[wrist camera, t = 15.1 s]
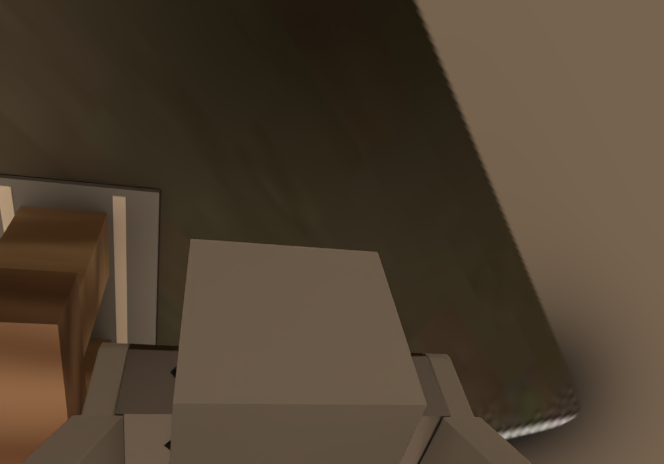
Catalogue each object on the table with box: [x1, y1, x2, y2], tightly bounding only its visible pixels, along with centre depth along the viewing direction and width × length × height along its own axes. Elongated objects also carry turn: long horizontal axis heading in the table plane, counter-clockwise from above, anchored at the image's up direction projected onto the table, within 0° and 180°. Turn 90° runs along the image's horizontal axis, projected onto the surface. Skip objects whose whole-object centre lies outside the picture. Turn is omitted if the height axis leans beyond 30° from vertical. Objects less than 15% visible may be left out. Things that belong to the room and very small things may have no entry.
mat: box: [0, 174, 160, 345], centre depth 31 cm, size 16×9×1 cm, turn 169°
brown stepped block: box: [0, 206, 112, 464], centre depth 27 cm, size 15×4×9 cm, turn 169°
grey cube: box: [170, 239, 427, 464], centre depth 11 cm, size 4×4×4 cm
